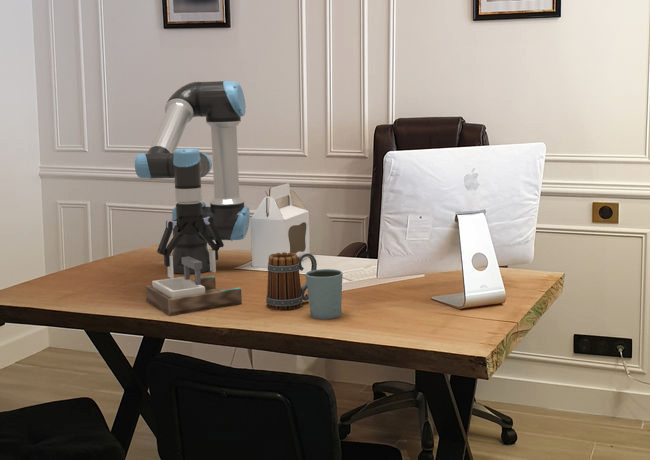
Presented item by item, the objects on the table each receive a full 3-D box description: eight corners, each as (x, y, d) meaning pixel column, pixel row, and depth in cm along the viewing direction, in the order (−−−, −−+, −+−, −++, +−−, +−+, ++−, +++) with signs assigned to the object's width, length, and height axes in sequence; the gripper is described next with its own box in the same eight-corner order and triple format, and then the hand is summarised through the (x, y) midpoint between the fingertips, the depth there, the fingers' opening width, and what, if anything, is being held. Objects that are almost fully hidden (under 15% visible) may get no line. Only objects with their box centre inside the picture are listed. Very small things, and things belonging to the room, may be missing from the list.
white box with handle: (186, 292, 256) (185, 254, 254) (208, 303, 242) (206, 263, 240) (153, 297, 250) (150, 258, 248) (172, 309, 236) (170, 268, 234)
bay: (214, 290, 262) (213, 275, 262) (241, 304, 245) (241, 288, 245) (146, 301, 251) (145, 285, 250) (170, 315, 234) (169, 299, 234)
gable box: (277, 255, 317) (275, 181, 312) (310, 257, 312) (308, 182, 307) (251, 267, 297) (248, 188, 292) (285, 269, 292) (283, 189, 287)
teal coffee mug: (347, 318, 229) (347, 275, 227) (312, 321, 226) (311, 278, 224) (336, 308, 238) (336, 267, 236) (302, 312, 235) (301, 270, 233)
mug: (275, 312, 236) (273, 260, 233) (260, 304, 245) (258, 254, 242) (324, 305, 243) (323, 254, 240) (308, 297, 252) (307, 248, 249)
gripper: (222, 197, 253) (225, 266, 256) (143, 204, 240) (147, 277, 244) (233, 199, 246) (235, 271, 250) (152, 207, 234) (156, 282, 237)
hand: (192, 274), depth 247 cm, fingers open, 12 cm apart
